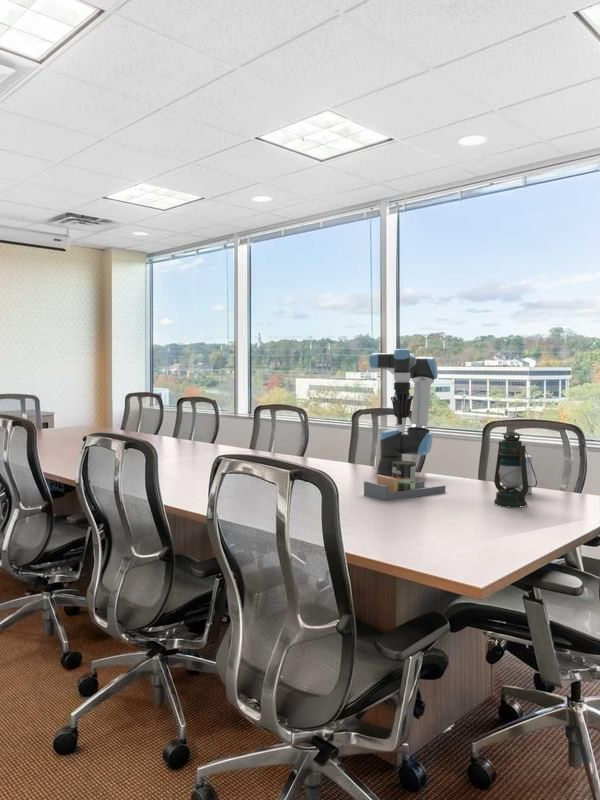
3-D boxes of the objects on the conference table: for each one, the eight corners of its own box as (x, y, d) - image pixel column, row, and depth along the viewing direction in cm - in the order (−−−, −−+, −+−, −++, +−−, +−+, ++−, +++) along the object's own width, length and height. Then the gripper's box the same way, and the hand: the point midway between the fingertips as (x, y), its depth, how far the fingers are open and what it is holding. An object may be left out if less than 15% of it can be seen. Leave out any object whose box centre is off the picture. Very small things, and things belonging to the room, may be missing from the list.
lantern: (482, 500, 259) (483, 429, 258) (509, 498, 265) (511, 428, 263) (514, 510, 241) (515, 433, 240) (543, 507, 247) (544, 432, 245)
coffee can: (400, 497, 265) (400, 464, 265) (387, 493, 275) (387, 461, 274) (420, 495, 270) (420, 463, 269) (406, 491, 279) (406, 460, 278)
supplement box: (526, 490, 283) (527, 453, 282) (532, 494, 274) (533, 456, 273) (505, 489, 284) (506, 453, 283) (510, 493, 275) (510, 456, 274)
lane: (422, 487, 289) (422, 474, 289) (445, 492, 277) (445, 479, 277) (363, 495, 270) (364, 481, 269) (385, 500, 258) (385, 486, 257)
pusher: (379, 493, 272) (379, 475, 272) (397, 497, 263) (397, 478, 263) (377, 493, 272) (377, 475, 271) (394, 498, 262) (394, 479, 262)
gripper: (406, 380, 298) (405, 429, 299) (386, 381, 290) (386, 431, 292) (417, 381, 292) (417, 431, 293) (397, 382, 284) (397, 433, 286)
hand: (401, 431), depth 293 cm, fingers closed
